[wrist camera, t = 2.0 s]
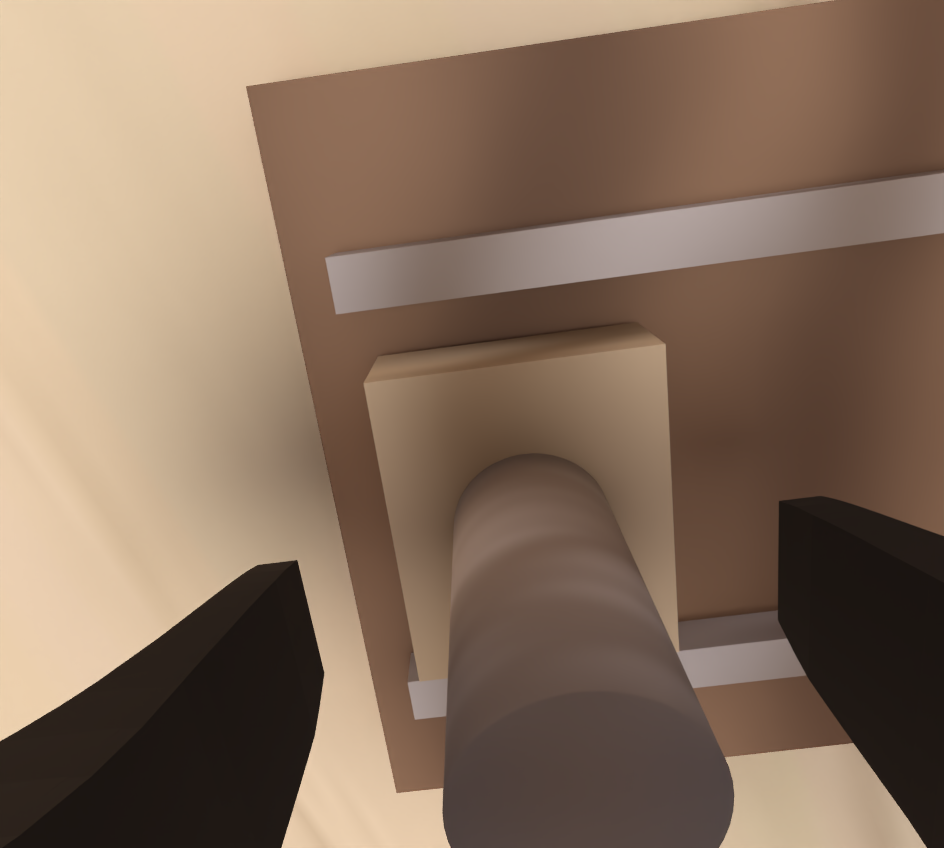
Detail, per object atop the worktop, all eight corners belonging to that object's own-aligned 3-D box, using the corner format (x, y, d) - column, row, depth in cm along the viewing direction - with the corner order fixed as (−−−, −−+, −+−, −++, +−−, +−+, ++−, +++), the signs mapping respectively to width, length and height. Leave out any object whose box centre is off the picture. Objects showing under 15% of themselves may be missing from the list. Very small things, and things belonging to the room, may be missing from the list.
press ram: (637, 322, 13) (864, 496, 6) (652, 594, 15) (839, 997, 8) (377, 356, 13) (263, 569, 6) (425, 621, 15) (384, 1041, 8)
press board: (1438, -73, 13) (1953, -214, 8) (1247, 652, 18) (1507, 805, 13) (269, 97, 14) (173, 51, 9) (401, 747, 19) (381, 921, 14)
